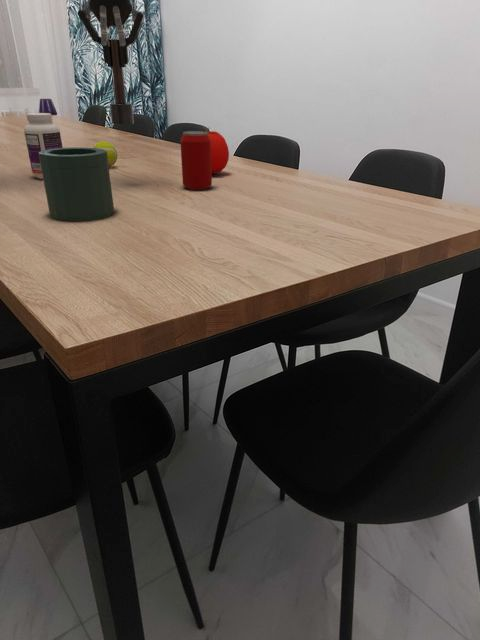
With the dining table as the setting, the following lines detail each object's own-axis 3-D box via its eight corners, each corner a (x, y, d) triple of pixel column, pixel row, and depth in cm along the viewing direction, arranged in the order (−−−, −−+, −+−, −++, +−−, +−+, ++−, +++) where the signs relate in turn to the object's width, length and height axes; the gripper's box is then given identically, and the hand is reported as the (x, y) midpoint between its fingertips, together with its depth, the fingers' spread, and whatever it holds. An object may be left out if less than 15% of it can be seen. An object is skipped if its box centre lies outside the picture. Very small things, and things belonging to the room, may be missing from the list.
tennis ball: (101, 170, 136) (97, 143, 132) (89, 166, 140) (85, 141, 137) (123, 167, 140) (120, 141, 136) (111, 164, 144) (108, 139, 141)
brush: (109, 124, 110) (100, 38, 102) (113, 122, 114) (104, 39, 106) (132, 124, 110) (124, 39, 102) (135, 122, 114) (127, 40, 107)
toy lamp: (45, 163, 144) (33, 98, 136) (61, 161, 147) (50, 98, 139) (52, 165, 141) (40, 99, 133) (68, 163, 144) (57, 98, 135)
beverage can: (210, 184, 121) (209, 130, 115) (213, 190, 115) (211, 134, 109) (182, 185, 120) (179, 130, 114) (183, 191, 114) (180, 134, 108)
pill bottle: (68, 173, 130) (58, 112, 123) (66, 179, 123) (56, 115, 116) (35, 174, 128) (22, 112, 121) (31, 180, 121) (18, 115, 114)
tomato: (223, 169, 140) (222, 126, 134) (234, 177, 130) (233, 130, 125) (180, 171, 136) (177, 126, 131) (188, 179, 127) (186, 131, 122)
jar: (42, 221, 89) (29, 156, 84) (59, 206, 99) (49, 147, 94) (107, 221, 90) (99, 156, 85) (118, 206, 100) (111, 147, 95)
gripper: (144, -30, 102) (151, 68, 111) (74, -33, 101) (87, 66, 109) (140, -37, 96) (148, 67, 104) (65, -40, 94) (79, 66, 103)
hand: (116, 66), depth 107 cm, fingers closed on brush
